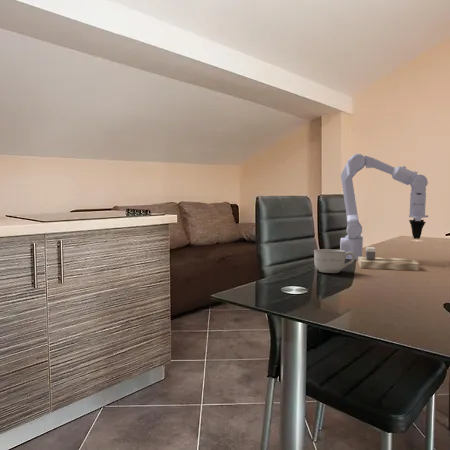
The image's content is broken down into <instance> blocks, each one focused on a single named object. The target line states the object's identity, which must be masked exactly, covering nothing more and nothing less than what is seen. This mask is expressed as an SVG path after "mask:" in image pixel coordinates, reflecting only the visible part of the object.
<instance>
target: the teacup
mask: <svg viewBox="0 0 450 450" xmlns="http://www.w3.org/2000/svg"><path fill="white" fill-rule="evenodd" d="M313 253H314V254H313V256H314V257H313V261H314V267H315V268H316V270H318V271H319V272H320V273H325V274H337V273H340V272H341V271H342V270H343V269H345V268H347V267H348V266H350V265H351V264H353V263H354V262H355V260H356V259H355V255H354V253H352V252H346V253H345V251H344V250H340V249H331V248H330V249H328V248H327V249H326V248H325V249H324V248H322V249H313ZM348 254H350V255H352V259H350V260H349V261H347V262H345V261H346V260H347V259H346V256H347V255H348Z"/></svg>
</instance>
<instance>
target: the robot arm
mask: <svg viewBox="0 0 450 450" xmlns="http://www.w3.org/2000/svg"><path fill="white" fill-rule="evenodd" d="M364 167H365V169H372V168H373V169H374V170H375V169H377V170H378V171H381V172H384V173H386V174H388V175H391V177H392V179H393V180H394V181H397V182H400V183H401V184H404V185H406V186H409V185H410V195H409V198H410V199H409V204H410V205H409V215H408V217H409V218H413V219H409V220H408V222H409V223H410V228H411V234H412V238H413V239H416V240H419V239H420V238H421V236H422V231H423V228H424V226H425V224H426V223H427V222H426V221H425V220H424V219H425V218H429V215H426V201H427V192H426V191H427V186H428V184H429V181H428V178H427V177H426V176H425V175H423V174H418V171H415V170H414V171H413V170H410V169H407V167H406V166H405V165H403V166H400V165H399V166H396V167H394V166H391V165H390V164H388V163H385V162H383V161H381V160H378V159H377V158H374V157H371V156H367V155H363V154H361V153H354V154H353V155H351V156H350V158H348V160H347V161H346V163H345V165H344V168H343V170H342V171H341V174H340V180H341V186H342V187H341V188H342V192H343V193H342V194H343V200H344V201H343V202H344V206H345V212H346V213H345V214H346V222H347V224H346V225H347V227H346V230H345V232H346V234H347V235H345V237H341V238H340V241H339V245H340V247H339V250H344V251H345V253H346V252H352V253H354V255H355V260H357V261H358V257H364V256H363V251H364V250H363V249H364V248H363V247H364V245H363V243H364V236H362V233H363V226H362V224H361V223H360V221H359V216H358V215H359V214H358V208H357V201H356V195H355V188H354V181H353V178H354V177H355V176H356V174H357V173H358V172H360V171H361V170H362V169H364ZM351 259H352V255H350V254H348V255H347V256H346V259H345V260H351Z"/></svg>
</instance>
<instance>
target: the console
mask: <svg viewBox="0 0 450 450" xmlns="http://www.w3.org/2000/svg"><path fill="white" fill-rule="evenodd" d="M357 263H358V265H359V268H360V269H369V270H370V269H371V270H372V269H373V270H374V269H375V270H396V271H420V270H419V269H420V268H419V267H420V263H418V262H417V261H416V260H415V259H413V258H405V257H404V258H401V257H380V256H379V257H378V256H377V257H376V256H375V260H372V259H366V256H363V257H358V260H357Z"/></svg>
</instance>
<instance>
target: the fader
mask: <svg viewBox="0 0 450 450" xmlns="http://www.w3.org/2000/svg"><path fill="white" fill-rule="evenodd" d="M365 257H366V259H372V260H375V257H376V247H375V246H365Z"/></svg>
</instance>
